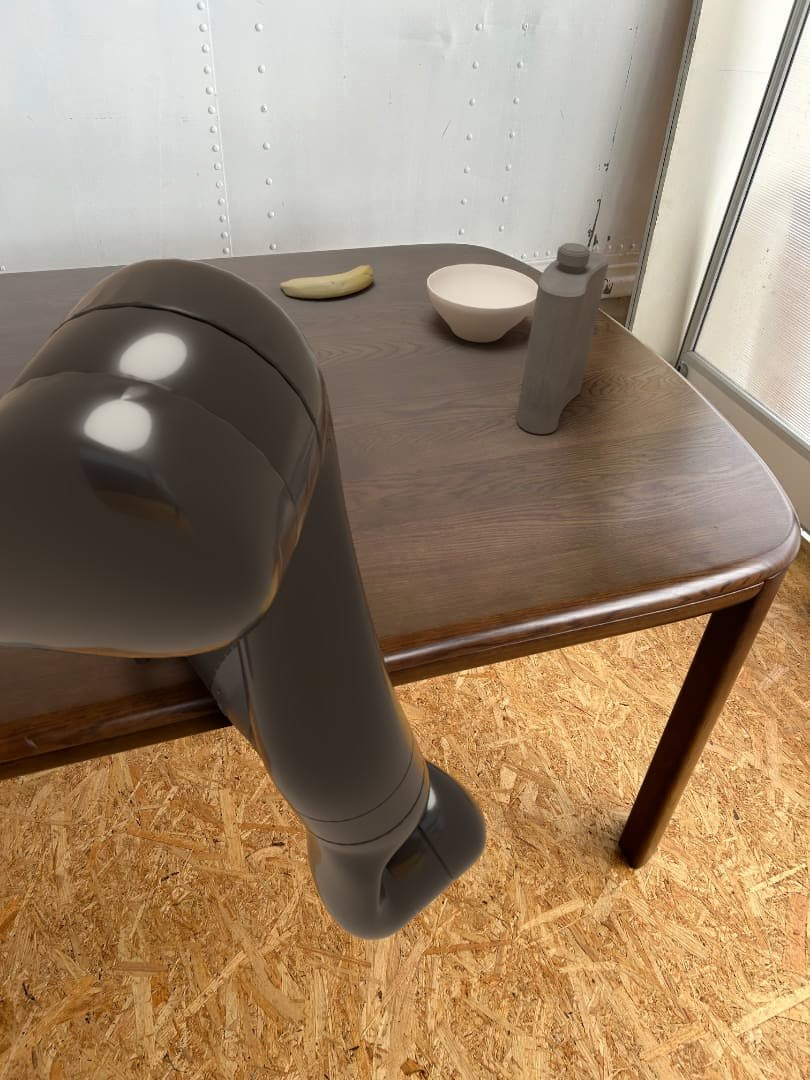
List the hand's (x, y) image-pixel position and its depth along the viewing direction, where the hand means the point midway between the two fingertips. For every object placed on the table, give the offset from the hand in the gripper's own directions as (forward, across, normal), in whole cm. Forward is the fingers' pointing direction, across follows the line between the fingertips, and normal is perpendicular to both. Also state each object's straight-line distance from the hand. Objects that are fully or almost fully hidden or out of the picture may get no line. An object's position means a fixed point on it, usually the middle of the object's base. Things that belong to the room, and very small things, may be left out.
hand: (165, 545), depth 66 cm
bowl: (+27, -60, +6) cm, 66 cm away
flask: (+6, -53, +6) cm, 54 cm away
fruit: (+51, -49, +6) cm, 71 cm away
